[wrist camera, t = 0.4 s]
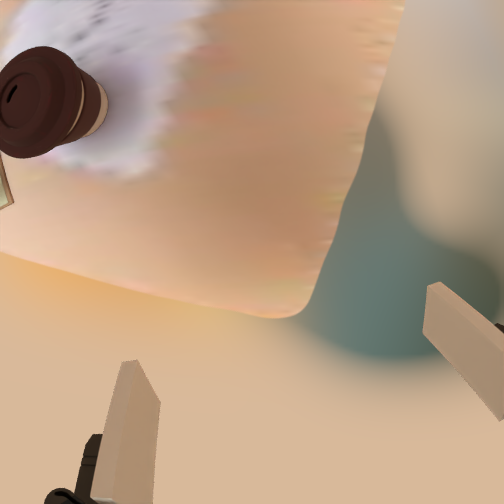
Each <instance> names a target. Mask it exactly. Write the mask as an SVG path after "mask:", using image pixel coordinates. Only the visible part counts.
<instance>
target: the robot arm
mask: <svg viewBox="0 0 504 504" xmlns="http://www.w3.org/2000/svg"><path fill="white" fill-rule="evenodd" d="M423 334H424V335H425V336H426V337H427V338H428V340H429V341H430V342H431V343H432V344H433V345H434V346H435V347H436V348H437V349H438V350H439V352H440V353H441V354H442V355H443V356H444V357H445V358H446V359H447V360H448V362H449V363H450V364H451V365H452V366H453V367H454V368H455V369H456V370H457V372H458V373H459V374H460V375H461V376H462V377H463V378H464V380H465V381H466V382H467V383H468V384H469V385H470V387H471V388H472V389H473V390H474V391H475V392H476V394H478V396H479V397H480V398H481V399H482V401H483V402H484V403H485V404H486V406H487V407H488V408H489V409H490V410H491V412H492V413H493V414H494V415H495V416H496V418H497V419H498V420H499V421H501V420H503V419H504V326H503V325H500V324H498V323H497V324H495V325H493V324H492V323H491V322H490V321H488V320H487V319H486V318H485V317H484V316H482V315H481V314H480V313H479V312H477V311H476V310H475V309H474V308H473V307H471V306H470V305H469V304H467V303H466V302H465V301H464V300H463V299H461V298H460V297H459V296H458V295H456V294H455V293H454V292H453V291H451V290H450V289H449V288H447V287H446V286H445V285H444V284H442V283H441V282H437V283H435V284H432V285H429V286H427V297H426V307H425V317H424V326H423ZM159 412H160V400H159V399H158V397H157V395H156V393H155V392H154V390H153V388H152V386H151V384H150V383H149V381H148V379H147V377H146V375H145V373H144V371H143V369H142V367H141V365H140V363H139V361H138V360H133V361H126V362H122V364H121V367H120V371H119V374H118V378H117V381H116V385H115V389H114V392H113V396H112V399H111V404H110V407H109V411H108V415H107V419H106V423H105V427H104V431H103V434H93V435H92V436H91V438H90V439H89V441H88V442H87V443H86V445H85V449H84V453H83V458H82V461H81V467H80V470H79V474H78V478H77V483H76V488H75V492H74V493H73V492H71V491H70V490H68V489H65V488H57V489H55V490H52V491H51V492H50V493H49V494H48V495H47V497H46V499H45V502H44V504H153V487H154V470H155V457H156V445H157V433H158V423H159Z"/></svg>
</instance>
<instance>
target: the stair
mask: <svg viewBox="0 0 504 504" xmlns="http://www.w3.org/2000/svg"><path fill="white" fill-rule="evenodd" d="M12 203H14V201H13V198H12V195H11V191H10V188H9V185H8V181H7V178H6V174H5V171H4V167H3V163H2V159H1V155H0V209H2V208H4V207H6V206H8V205H10V204H12Z"/></svg>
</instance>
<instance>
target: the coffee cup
mask: <svg viewBox="0 0 504 504" xmlns="http://www.w3.org/2000/svg"><path fill="white" fill-rule="evenodd" d="M107 110H108V99H107V95H106V93H105V91H104V89H103V88H102V86H101V85H99V84H98V83H97V82H96V81H95V80H94V79H93V78H92V77H91V76H90V75H88V74H87V73H86V72H84V71H83V70H81V69H80V68H78V67H77V66H76V64H75V63H74V61H73V60H72V59H71V58H70V57H69V56H68V55H66V54H65V53H63V52H61V51H59V50H57V49H55V48H52V47H47V46H40V47H34V48H31V49H28V50H26V51H24V52H22V53H20V54H18V55H17V56H16V57H14V58H13V59H12V60H11V61H10V62H9V63H8V64H7V65H6V66H5V67H4V68H3V69H2V71H1V72H0V150H1V151H3V152H4V153H5V154H7V155H9V156H11V157H15V158H23V159H24V158H31V157H36V156H40V155H42V154H45V153H47V152H48V151H50V150H52V149H53V148H55V147H56V146H59V145H63V144H66V143H70V142H73V141H76V140H78V139H80V138H82V137H86V136H88V135H90V134H92V133H93V132H95V131H96V130H97V129H98V128H99V127H100V125H101V124H102V122H103V121H104V119H105V117H106V114H107Z"/></svg>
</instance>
